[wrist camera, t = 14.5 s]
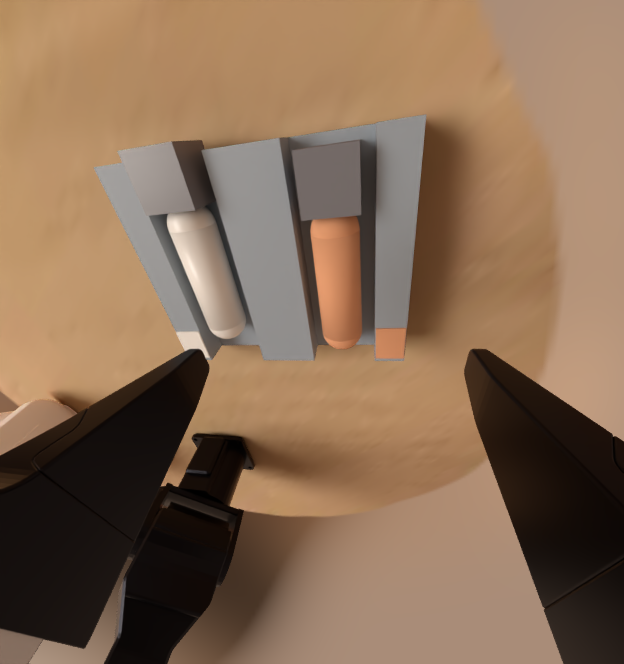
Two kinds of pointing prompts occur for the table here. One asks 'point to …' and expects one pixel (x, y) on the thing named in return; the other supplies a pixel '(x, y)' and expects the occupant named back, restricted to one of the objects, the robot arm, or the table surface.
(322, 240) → the orange-handled mallet
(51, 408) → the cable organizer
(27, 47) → the table surface
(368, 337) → the ribbed grooved tray
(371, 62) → the table surface
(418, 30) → the table surface
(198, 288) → the white-handled mallet
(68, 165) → the table surface
